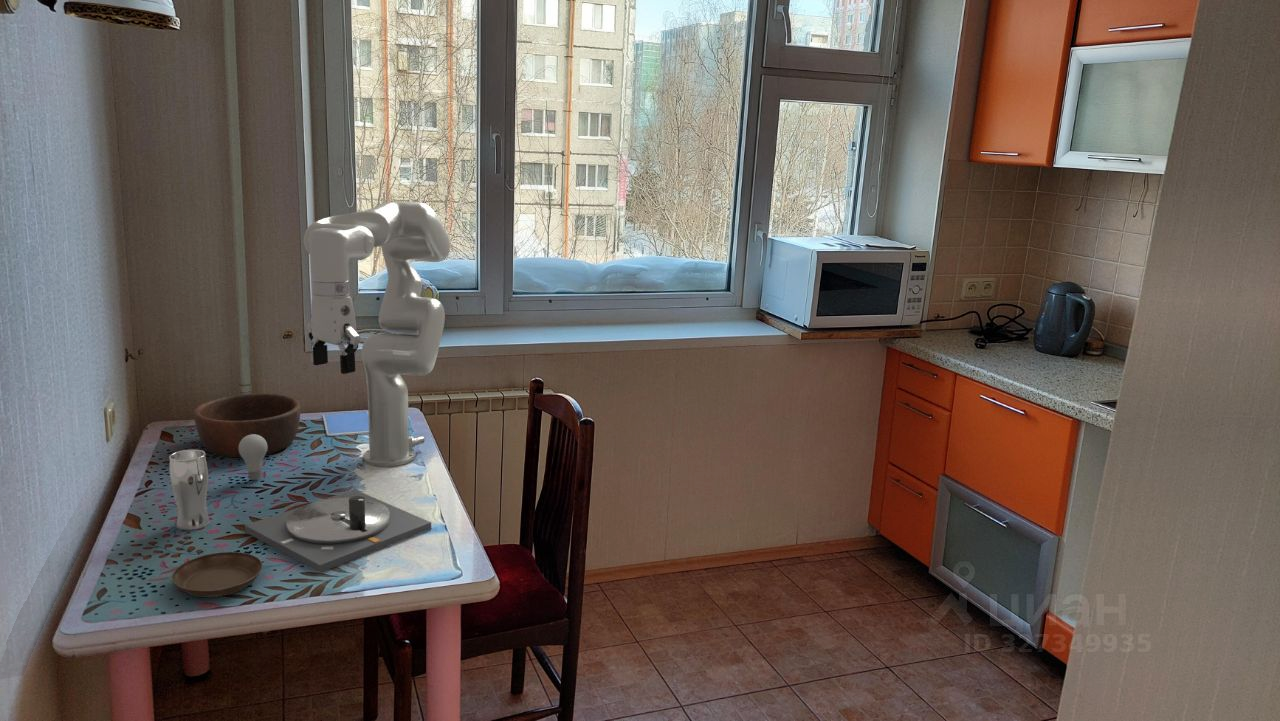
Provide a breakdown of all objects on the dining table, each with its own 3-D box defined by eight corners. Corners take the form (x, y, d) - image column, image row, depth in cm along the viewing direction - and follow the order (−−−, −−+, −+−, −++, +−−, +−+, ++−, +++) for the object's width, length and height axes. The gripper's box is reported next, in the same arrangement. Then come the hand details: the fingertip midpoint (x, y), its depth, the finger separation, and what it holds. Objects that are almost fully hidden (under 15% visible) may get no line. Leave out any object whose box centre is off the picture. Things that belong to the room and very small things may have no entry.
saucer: (281, 575, 168) (280, 562, 167) (215, 612, 155) (213, 597, 154) (222, 558, 174) (221, 545, 173) (153, 591, 161) (152, 577, 160)
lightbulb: (275, 478, 212) (272, 433, 210) (254, 487, 207) (251, 441, 204) (255, 473, 215) (253, 429, 212) (234, 482, 209) (231, 436, 207)
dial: (267, 521, 185) (265, 488, 184) (355, 495, 200) (354, 464, 198) (319, 553, 173) (317, 518, 171) (409, 523, 187) (408, 490, 186)
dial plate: (355, 495, 204) (354, 488, 204) (431, 529, 189) (431, 521, 189) (245, 531, 184) (244, 524, 184) (320, 572, 169) (319, 564, 169)
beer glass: (175, 519, 189) (169, 450, 185) (212, 515, 191) (207, 447, 188) (173, 533, 183) (166, 462, 179) (211, 528, 185) (206, 458, 182)
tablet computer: (322, 417, 259) (322, 413, 259) (368, 414, 264) (368, 410, 263) (326, 439, 242) (326, 434, 241) (376, 435, 246) (376, 430, 246)
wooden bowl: (301, 426, 249) (300, 390, 247) (303, 457, 227) (301, 417, 224) (200, 433, 241) (197, 396, 238) (191, 466, 218) (188, 425, 215)
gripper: (371, 292, 188) (374, 372, 192) (322, 281, 198) (325, 358, 202) (339, 296, 182) (343, 379, 186) (290, 285, 192) (295, 364, 196)
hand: (334, 368), depth 194 cm, fingers open, 9 cm apart
